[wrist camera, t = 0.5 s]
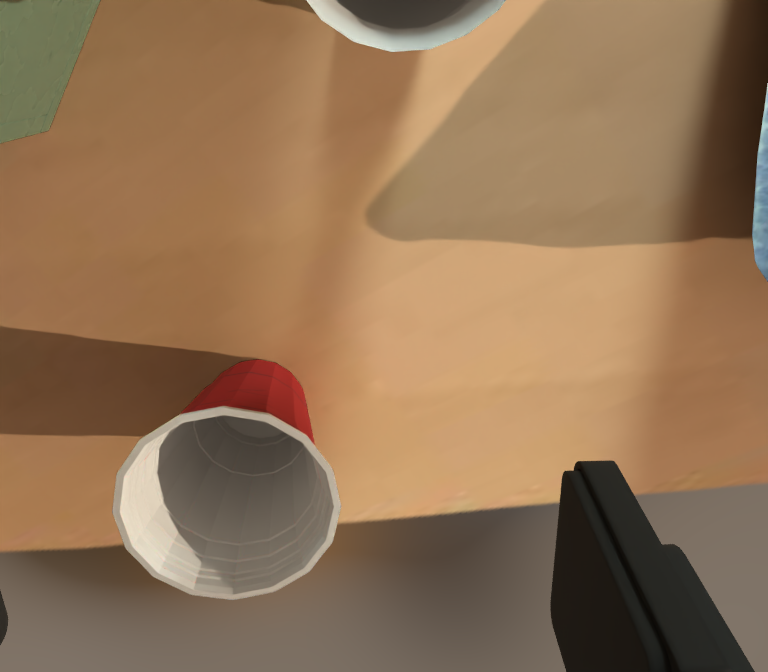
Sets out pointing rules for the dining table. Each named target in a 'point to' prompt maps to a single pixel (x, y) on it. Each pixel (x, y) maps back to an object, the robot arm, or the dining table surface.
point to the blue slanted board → (762, 199)
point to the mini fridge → (38, 60)
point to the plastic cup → (230, 489)
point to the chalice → (404, 20)
